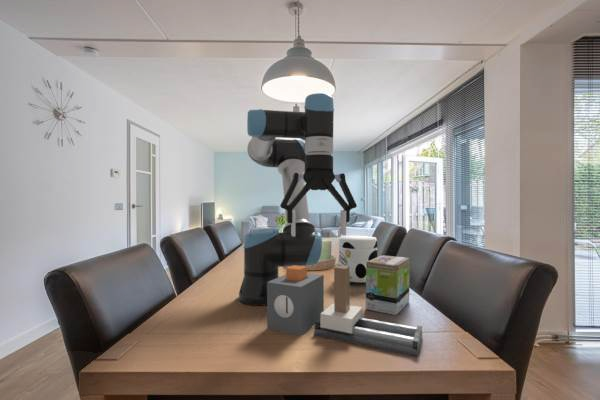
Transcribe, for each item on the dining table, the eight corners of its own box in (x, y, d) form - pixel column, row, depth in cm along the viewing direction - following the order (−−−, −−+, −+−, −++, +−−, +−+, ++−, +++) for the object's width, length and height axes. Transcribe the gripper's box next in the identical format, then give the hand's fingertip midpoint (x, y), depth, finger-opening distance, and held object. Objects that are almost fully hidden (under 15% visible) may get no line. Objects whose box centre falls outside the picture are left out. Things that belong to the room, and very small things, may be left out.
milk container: (328, 281, 127) (327, 237, 127) (354, 274, 139) (353, 234, 139) (362, 290, 115) (362, 241, 115) (388, 281, 126) (388, 237, 126)
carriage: (320, 327, 76) (320, 269, 76) (333, 314, 84) (333, 262, 84) (351, 333, 72) (351, 272, 73) (362, 319, 81) (362, 265, 81)
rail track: (314, 334, 76) (314, 322, 76) (329, 320, 85) (329, 309, 85) (417, 356, 65) (417, 342, 65) (422, 338, 74) (422, 325, 74)
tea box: (398, 316, 89) (398, 264, 89) (364, 309, 94) (364, 261, 94) (410, 301, 101) (410, 256, 101) (380, 296, 107) (379, 253, 107)
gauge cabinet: (266, 328, 80) (266, 282, 80) (293, 311, 93) (292, 271, 93) (300, 336, 76) (300, 287, 76) (323, 316, 88) (323, 274, 88)
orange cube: (286, 282, 83) (286, 268, 84) (293, 279, 87) (293, 265, 87) (300, 284, 82) (299, 269, 82) (306, 281, 85) (306, 266, 85)
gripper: (272, 152, 76) (272, 238, 76) (369, 154, 80) (368, 236, 81) (270, 155, 83) (270, 234, 84) (359, 157, 87) (358, 232, 88)
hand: (318, 235), depth 82 cm, fingers open, 13 cm apart
